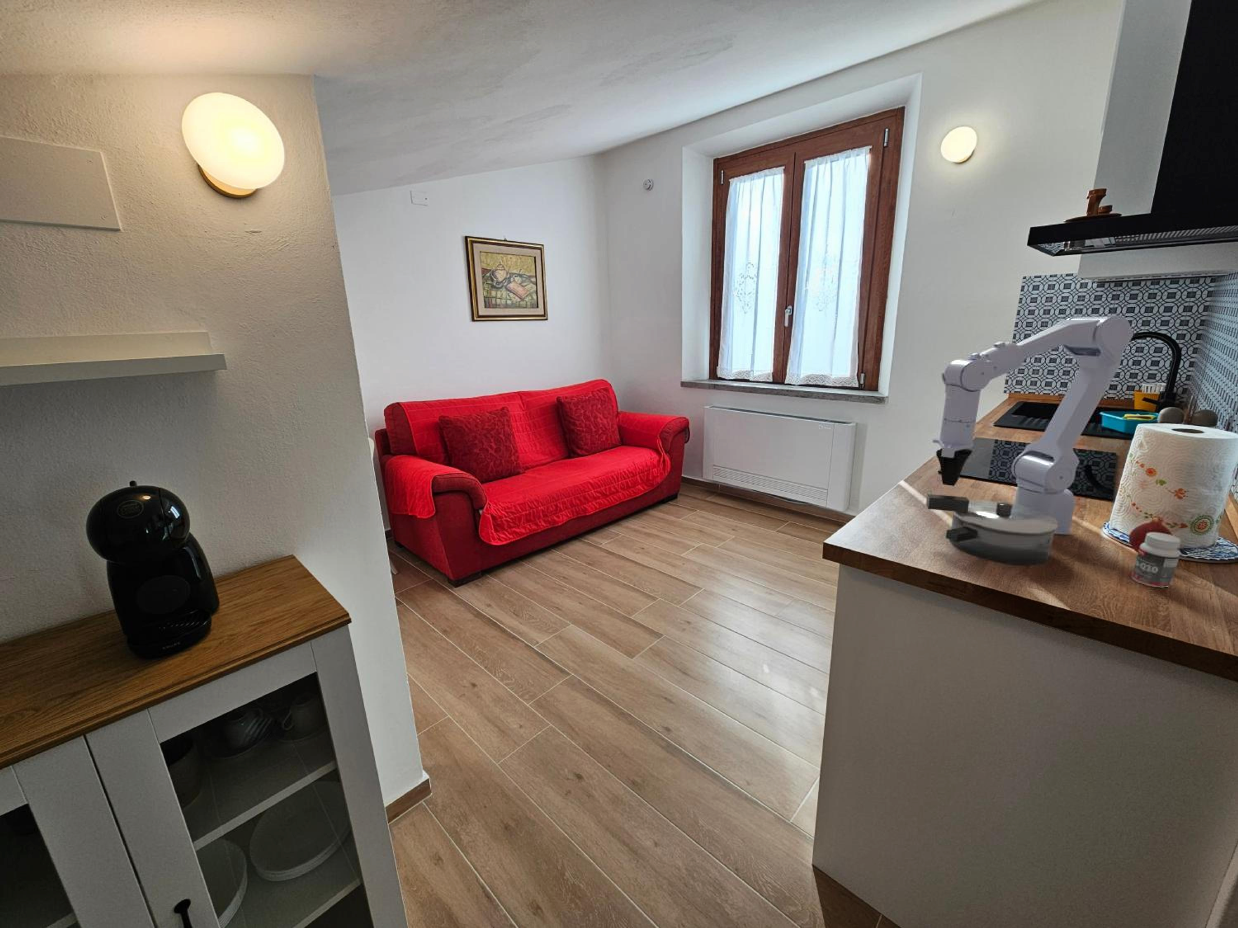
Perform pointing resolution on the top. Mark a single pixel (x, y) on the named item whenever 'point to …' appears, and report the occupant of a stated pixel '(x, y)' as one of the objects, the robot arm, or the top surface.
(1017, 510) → the cooker lid
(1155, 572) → the pill bottle
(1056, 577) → the top surface
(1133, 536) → the onion
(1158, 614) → the top surface
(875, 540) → the top surface
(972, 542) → the cooker pot
